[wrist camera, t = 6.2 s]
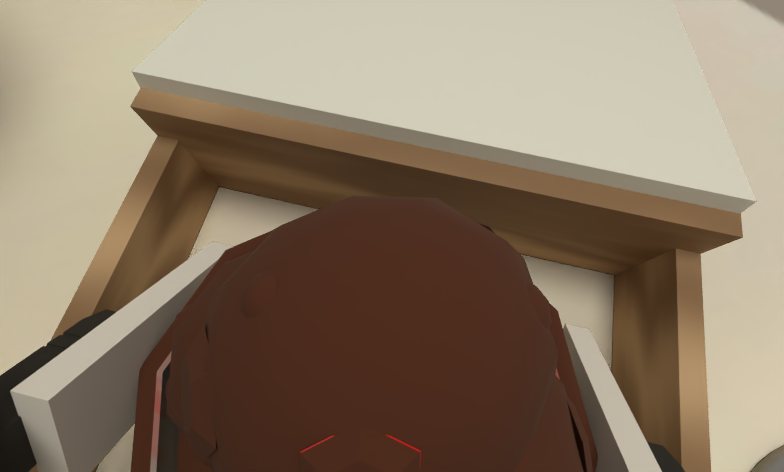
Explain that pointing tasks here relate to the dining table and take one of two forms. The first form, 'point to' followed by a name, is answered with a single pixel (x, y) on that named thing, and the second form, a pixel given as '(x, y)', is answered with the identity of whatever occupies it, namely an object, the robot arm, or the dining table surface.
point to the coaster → (771, 462)
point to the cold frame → (459, 190)
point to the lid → (475, 83)
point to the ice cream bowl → (365, 354)
